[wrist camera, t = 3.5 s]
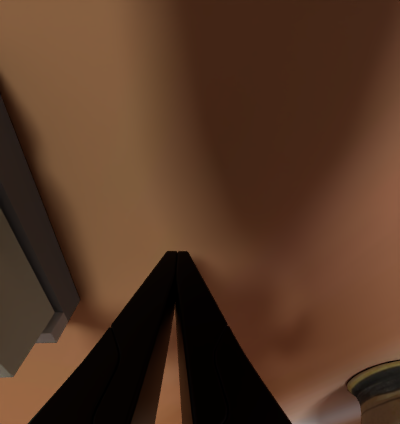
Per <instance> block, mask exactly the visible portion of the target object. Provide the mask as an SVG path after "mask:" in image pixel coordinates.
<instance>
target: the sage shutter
mask: <svg viewBox="0 0 400 424" xmlns="http://www.w3.org/2000/svg"><path fill="white" fill-rule="evenodd" d="M54 313H55V312H54V310H53V308H52V306H51V304H50V302H49V300H48V298H47V297H46V295H45V293H44V291H43V289H42V287H41V285H40V283H39V281H38V279H37V277H36V275H35V273H34V272H33V270H32V268H31V266H30V264H29V262H28V260H27V258H26V256H25V254H24V252H23V250H22V249H21V247H20V245H19V243H18V241H17V239H16V237H15V235H14V233H13V231H12V229H11V227H10V226H9V224H8V222H7V220H6V218H5V216H4V214H3V212H2V210H1V208H0V377H14V375H15V374H16V372H17V371H18V369H19V367H20V366H21V364H22V363H23V361H24V360H25V358H26V357H27V355H28V353H29V352H30V350H31V349H32V347H33V346H34V344H35V343H36V341H37V340H38V338H39V336H40V335H41V333H42V332H43V330H44V329H45V327H46V326H47V324H48V322H49V321H50V319H51V318H52V316H53V315H54Z"/></svg>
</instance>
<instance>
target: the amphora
mask: <svg viewBox="0 0 400 424" xmlns="http://www.w3.org/2000/svg"><path fill="white" fill-rule="evenodd" d="M347 388H348V391H349V392H351V393H352V394H353V395H354V396H356V398H357V399H358V401H359V403H360V406H361V424H400V361H396V362H390V363H385V364H382V365H378V366H375V367H373V368H370V369H368V370H366V371H364V372H361V373H360V374H358V375H356V376H355V377H353V378H352V379H351V380H350V381H349V382H348V385H347Z"/></svg>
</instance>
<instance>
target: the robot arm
mask: <svg viewBox="0 0 400 424" xmlns="http://www.w3.org/2000/svg"><path fill="white" fill-rule="evenodd" d="M174 310H175V315H176V331H177V347H178V364H179V380H180V396H181V413H182V424H292V423H291V422H290V420H289V419H288V417H287V416H286V414H285V413H284V411H283V410H282V408H281V407H280V406H279V404H278V403H277V401H276V400H275V398H274V397H273V395H272V394H271V392H270V391H269V390H268V388H267V387H266V385H265V384H264V382H263V381H262V379H261V378H260V376H259V375H258V373H257V372H256V370H255V369H254V367H253V366H252V364H251V363H250V361H249V360H248V358H247V357H246V355H245V353H244V352H243V350H242V348H241V346H240V345H239V343H238V341H237V340H236V338H235V336H234V334H233V332H232V331H231V329H230V327H229V326H227V325H228V324H227V322H226V320H225V318H224V316H223V314H222V313H221V311H220V309H219V307H218V305H217V304H216V302H215V300H214V298H213V296H212V294H211V293H210V291H209V289H208V287H207V285H206V283H205V282H204V280H203V278H202V276H201V274H200V273H199V271H198V269H197V267H196V265H195V263H194V262H193V260H192V258H191V256H190V254H189V253H188V252H187V251H179V252H178V253H177V251H167V252H166V253H165V255H164V256H163V257H162V258H161V260H160V261H159V262H158V264H157V265H156V266H155V268H154V269H153V270H152V272H151V273H150V274H149V276H148V277H147V278H146V280H145V281H144V282H143V284H142V285H141V286H140V288H139V289H138V290H137V292H136V293H135V294H134V296H133V297H132V298H131V299H130V301H129V302H128V303H127V305H126V306H125V307H124V309H123V310H122V311H121V313H120V314H119V315H118V317H117V318H116V319H115V321H114V322H113V323H112V325H111V327H110V328H108V330H107V331H106V332H105V334H104V335H103V336H102V338H101V339H100V340H99V342H98V343H97V344H96V345H95V347H94V348H93V349H92V350H91V352H90V353H89V354H88V355H87V357H86V358H85V359H84V360H83V362H82V363H81V364H80V365H79V366H78V367H77V369H76V370H75V371H74V372H73V373H72V374H71V376H70V377H69V378H68V379H67V380H66V381H65V382H64V384H63V385H62V386H61V387H60V388H59V389H58V390H57V391H56V393H55V394H54V395H53V396H52V397H51V398H50V399H49V400H48V402H47V403H46V404H45V405H44V406H43V407H42V408H41V409H40V410H39V412H38V413H37V414H36V415H35V416H34V417H33V418H32V419H31V421H30V422H29V423H28V424H155V419H156V413H157V408H158V402H159V396H160V391H161V385H162V379H163V374H164V368H165V362H166V356H167V351H168V345H169V339H170V334H171V328H172V322H173V316H174Z"/></svg>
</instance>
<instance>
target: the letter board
mask: <svg viewBox="0 0 400 424" xmlns="http://www.w3.org/2000/svg"><path fill="white" fill-rule="evenodd" d="M0 208H1V210H2V212H3V214H4V216H5V218H6V220H7V222H8V224H9V226H10V227H11V229H12V231H13V233H14V235H15V237H16V239H17V241H18V243H19V245H20V247H21V249H22V250H23V252H24V254H25V256H26V258H27V260H28V262H29V264H30V266H31V268H32V270H33V272H34V273H35V275H36V277H37V279H38V281H39V283H40V285H41V287H42V289H43V291H44V293H45V295H46V297H47V298H48V300H49V302H50V304H51V306H52V308H53V310H54V312H55V313H54V315H53V316H52V318H51V319H50V321H49V322H48V324H47V326H46V327H45V329H44V330H43V332H42V333H41V335H40V336H39V338H38V340H37V341H36V343H57V341H58V339H59V337H60V336H61V334H62V332H63V330H64V328H65V327H66V325H67V323H68V321H69V320H70V318H71V316H72V314H73V312H74V311H75V309H76V307H77V305H78V303H79V302H80V299H79V296H78V293H77V291H76V288H75V286H74V283H73V280H72V278H71V275H70V273H69V270H68V268H67V265H66V262H65V260H64V257H63V255H62V252H61V250H60V247H59V244H58V242H57V239H56V237H55V234H54V231H53V229H52V226H51V224H50V221H49V219H48V216H47V213H46V211H45V208H44V206H43V203H42V200H41V198H40V195H39V193H38V190H37V188H36V185H35V182H34V180H33V177H32V175H31V172H30V170H29V167H28V164H27V162H26V159H25V157H24V154H23V151H22V149H21V146H20V144H19V141H18V139H17V136H16V133H15V131H14V128H13V126H12V123H11V120H10V118H9V115H8V113H7V110H6V108H5V105H4V102H3V100H2V97H1V95H0Z"/></svg>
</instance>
